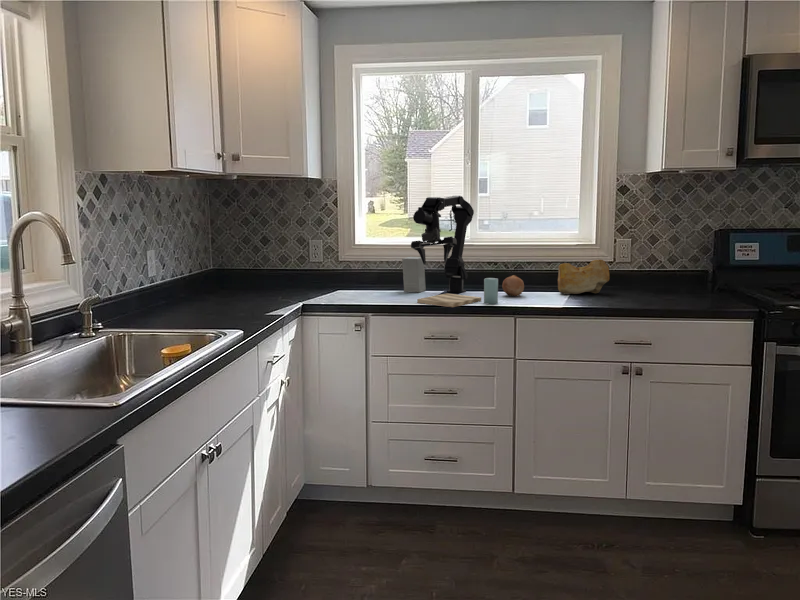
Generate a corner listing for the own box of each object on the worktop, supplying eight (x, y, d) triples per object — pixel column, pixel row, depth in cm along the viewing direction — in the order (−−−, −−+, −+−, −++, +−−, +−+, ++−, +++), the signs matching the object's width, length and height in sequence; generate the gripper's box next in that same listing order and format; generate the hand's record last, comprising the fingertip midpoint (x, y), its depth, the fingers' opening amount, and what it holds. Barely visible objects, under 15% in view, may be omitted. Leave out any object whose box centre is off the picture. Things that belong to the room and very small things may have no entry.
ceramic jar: (488, 301, 276) (489, 277, 275) (500, 302, 273) (500, 278, 271) (481, 303, 272) (481, 278, 271) (492, 304, 269) (493, 280, 267)
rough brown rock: (597, 291, 309) (596, 258, 307) (613, 293, 292) (612, 259, 291) (548, 294, 306) (547, 261, 305) (562, 296, 289) (561, 262, 288)
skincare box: (425, 291, 306) (425, 256, 304) (417, 293, 300) (417, 258, 298) (410, 289, 311) (410, 256, 308) (402, 291, 305) (401, 257, 302)
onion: (512, 301, 295) (515, 280, 298) (527, 298, 287) (530, 276, 290) (496, 295, 290) (499, 273, 293) (510, 291, 283) (513, 269, 285)
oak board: (446, 296, 290) (446, 293, 289) (481, 300, 278) (481, 297, 278) (417, 302, 275) (417, 299, 274) (452, 307, 263) (452, 303, 263)
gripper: (405, 226, 278) (407, 263, 276) (447, 220, 271) (449, 258, 269) (414, 230, 288) (416, 266, 287) (456, 225, 281) (458, 261, 279)
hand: (434, 263), depth 280 cm, fingers open, 9 cm apart
